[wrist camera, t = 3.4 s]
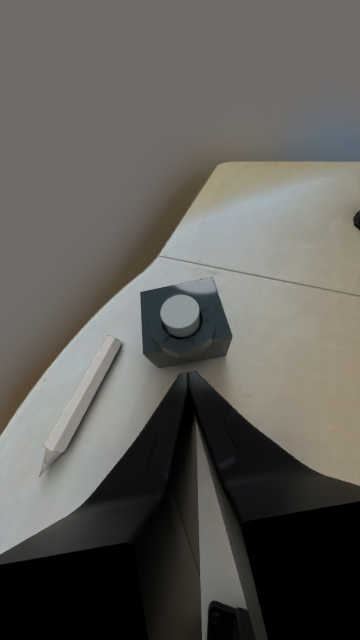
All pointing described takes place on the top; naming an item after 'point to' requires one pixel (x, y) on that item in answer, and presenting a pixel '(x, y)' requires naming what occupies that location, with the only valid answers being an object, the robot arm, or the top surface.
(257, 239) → the top surface
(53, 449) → the pale grey rod
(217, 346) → the push button box
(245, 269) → the top surface
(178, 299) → the pale grey disc
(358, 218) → the electric shaver
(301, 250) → the top surface
